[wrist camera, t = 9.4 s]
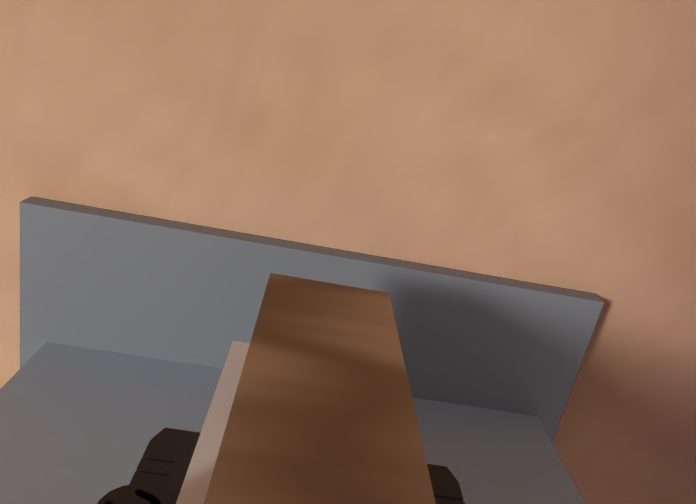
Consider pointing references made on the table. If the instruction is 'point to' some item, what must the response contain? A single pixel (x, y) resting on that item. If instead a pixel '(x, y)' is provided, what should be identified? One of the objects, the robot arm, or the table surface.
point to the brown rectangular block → (322, 405)
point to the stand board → (238, 325)
